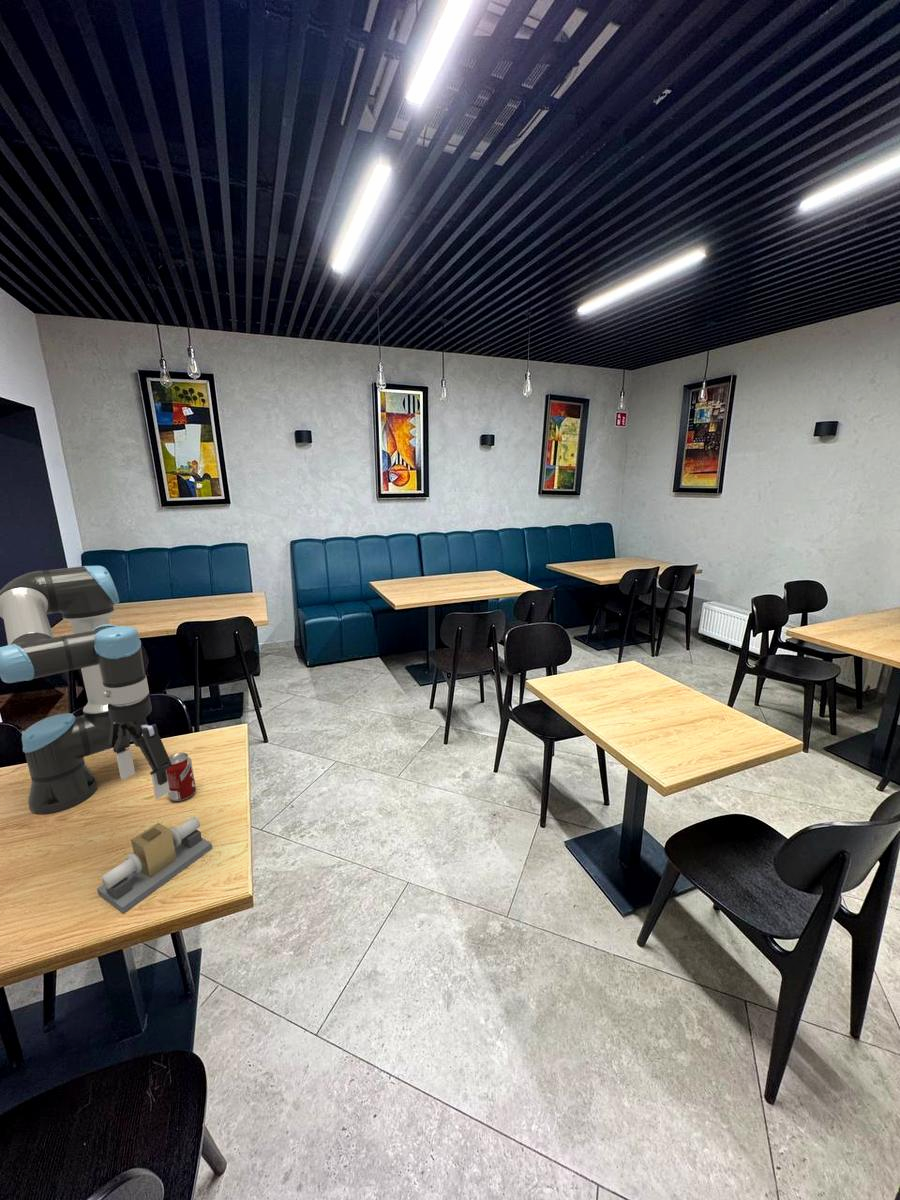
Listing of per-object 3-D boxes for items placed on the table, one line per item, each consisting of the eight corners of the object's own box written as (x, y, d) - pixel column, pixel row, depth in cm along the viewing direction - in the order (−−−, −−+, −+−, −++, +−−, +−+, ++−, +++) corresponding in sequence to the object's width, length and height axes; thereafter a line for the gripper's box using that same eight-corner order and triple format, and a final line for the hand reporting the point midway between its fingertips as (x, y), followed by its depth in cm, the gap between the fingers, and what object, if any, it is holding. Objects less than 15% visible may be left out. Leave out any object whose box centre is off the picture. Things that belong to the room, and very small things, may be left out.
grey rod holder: (98, 894, 99) (91, 864, 98) (187, 834, 117) (182, 808, 115) (123, 913, 95) (116, 882, 93) (212, 848, 112) (208, 821, 110)
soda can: (177, 806, 127) (170, 767, 124) (164, 798, 131) (157, 760, 128) (201, 792, 133) (195, 755, 130) (188, 785, 136) (182, 749, 133)
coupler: (137, 869, 104) (130, 838, 102) (163, 851, 109) (158, 821, 107) (150, 878, 102) (143, 846, 100) (176, 859, 107) (171, 828, 105)
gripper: (78, 693, 101) (97, 777, 106) (143, 721, 89) (160, 814, 94) (116, 680, 107) (131, 761, 112) (181, 705, 95) (195, 793, 101)
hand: (144, 785), depth 103 cm, fingers open, 13 cm apart
